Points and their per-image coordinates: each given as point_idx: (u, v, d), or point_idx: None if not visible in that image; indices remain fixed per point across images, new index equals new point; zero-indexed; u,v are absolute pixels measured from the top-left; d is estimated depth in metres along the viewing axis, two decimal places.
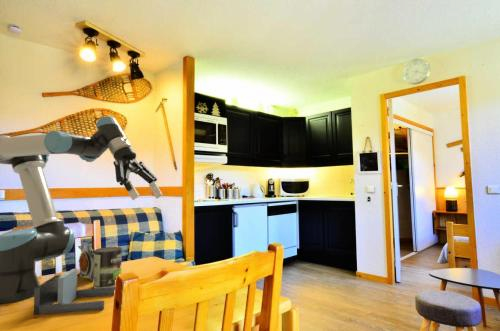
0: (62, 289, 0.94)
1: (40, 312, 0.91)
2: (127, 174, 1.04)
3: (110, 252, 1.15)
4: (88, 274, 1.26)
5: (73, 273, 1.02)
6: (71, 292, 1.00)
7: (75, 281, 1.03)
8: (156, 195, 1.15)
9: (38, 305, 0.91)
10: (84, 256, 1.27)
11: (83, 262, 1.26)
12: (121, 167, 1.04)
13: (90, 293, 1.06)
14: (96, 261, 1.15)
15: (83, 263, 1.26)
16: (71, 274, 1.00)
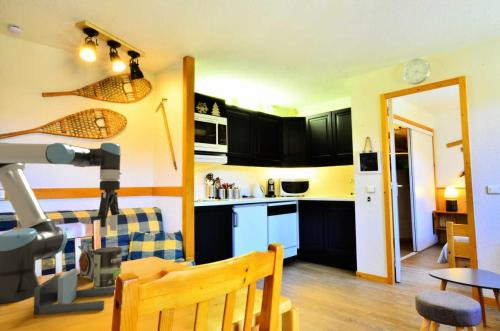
0: (62, 289, 0.94)
1: (40, 312, 0.91)
2: (107, 211, 1.15)
3: (110, 252, 1.15)
4: (88, 274, 1.26)
5: (73, 273, 1.02)
6: (71, 292, 1.00)
7: (75, 281, 1.03)
8: (111, 228, 1.26)
9: (38, 305, 0.91)
10: (84, 256, 1.27)
11: (83, 262, 1.26)
12: (107, 203, 1.14)
13: (90, 293, 1.06)
14: (96, 261, 1.15)
15: (83, 263, 1.26)
16: (71, 274, 1.00)
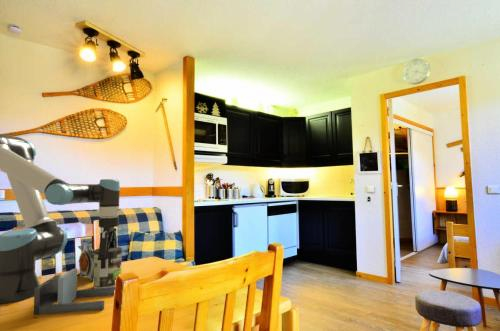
0: (62, 289, 0.94)
1: (40, 312, 0.91)
2: (107, 251, 1.15)
3: (110, 252, 1.15)
4: (88, 274, 1.26)
5: (73, 273, 1.02)
6: (71, 292, 1.00)
7: (75, 281, 1.03)
8: None
9: (38, 305, 0.91)
10: (84, 256, 1.27)
11: (83, 262, 1.26)
12: (106, 244, 1.13)
13: (90, 293, 1.06)
14: (96, 261, 1.15)
15: (83, 263, 1.26)
16: (71, 274, 1.00)
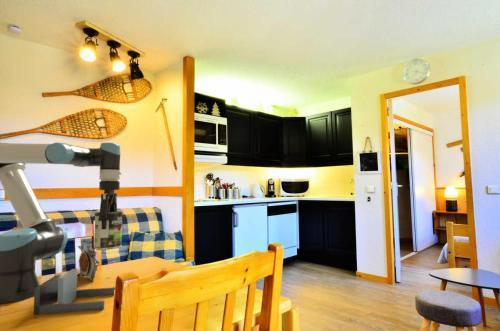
0: (62, 289, 0.94)
1: (40, 312, 0.91)
2: (108, 213, 1.16)
3: (111, 214, 1.16)
4: (88, 274, 1.26)
5: (73, 273, 1.02)
6: (71, 292, 1.00)
7: (75, 281, 1.03)
8: None
9: (38, 305, 0.91)
10: (84, 256, 1.27)
11: (83, 262, 1.26)
12: (107, 205, 1.14)
13: (90, 293, 1.06)
14: (97, 222, 1.16)
15: (83, 263, 1.26)
16: (71, 274, 1.00)
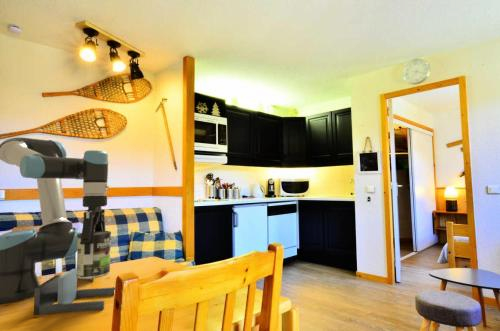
0: (62, 289, 0.94)
1: (40, 312, 0.91)
2: (92, 234, 0.97)
3: (96, 235, 0.98)
4: None
5: (73, 273, 1.02)
6: (71, 292, 1.00)
7: (75, 281, 1.03)
8: None
9: (38, 305, 0.91)
10: None
11: None
12: (91, 226, 0.96)
13: (90, 293, 1.06)
14: (79, 246, 0.97)
15: None
16: (71, 274, 1.00)
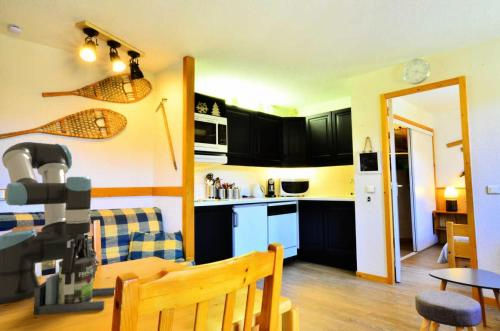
0: (50, 290, 0.93)
1: (40, 312, 0.91)
2: (74, 263, 0.95)
3: (78, 264, 0.96)
4: None
5: None
6: None
7: None
8: None
9: (38, 305, 0.91)
10: None
11: None
12: (72, 255, 0.94)
13: None
14: (61, 275, 0.96)
15: None
16: None
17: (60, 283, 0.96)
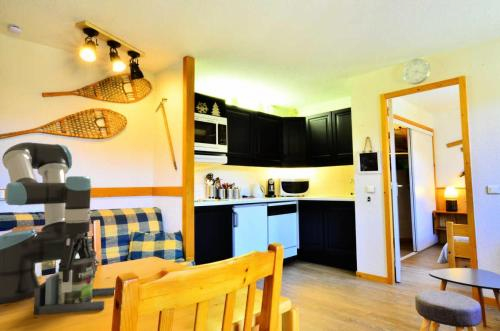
0: (50, 290, 0.93)
1: (40, 312, 0.91)
2: (72, 261, 0.94)
3: (77, 265, 0.96)
4: None
5: None
6: None
7: None
8: None
9: (38, 305, 0.91)
10: None
11: None
12: (71, 253, 0.93)
13: None
14: (60, 276, 0.96)
15: None
16: None
17: (60, 284, 0.96)
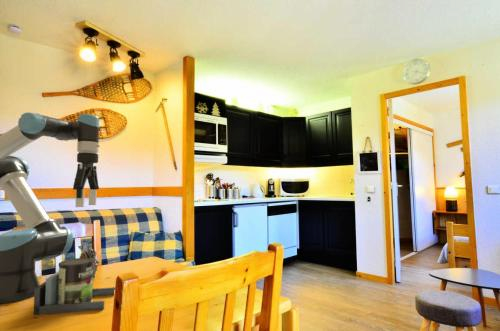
0: (50, 290, 0.93)
1: (40, 312, 0.91)
2: (84, 182, 1.12)
3: (77, 265, 0.96)
4: None
5: None
6: None
7: None
8: (90, 202, 1.24)
9: (38, 305, 0.91)
10: (84, 256, 1.27)
11: None
12: (83, 174, 1.11)
13: None
14: (60, 276, 0.96)
15: None
16: None
17: (60, 284, 0.96)
